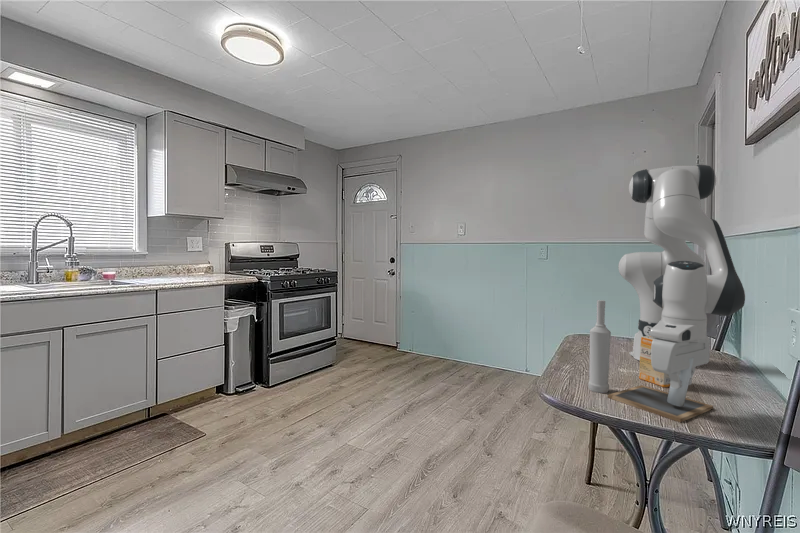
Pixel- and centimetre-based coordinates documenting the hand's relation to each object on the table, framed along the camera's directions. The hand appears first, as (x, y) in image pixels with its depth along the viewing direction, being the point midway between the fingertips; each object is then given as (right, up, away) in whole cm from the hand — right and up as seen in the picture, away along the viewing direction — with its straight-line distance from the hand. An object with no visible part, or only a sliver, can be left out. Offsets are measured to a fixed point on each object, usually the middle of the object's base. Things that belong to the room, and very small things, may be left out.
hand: (680, 386), depth 93 cm
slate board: (-2, -6, +5) cm, 8 cm away
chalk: (-1, -5, +1) cm, 5 cm away
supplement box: (+8, -6, +22) cm, 24 cm away
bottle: (-12, -6, +15) cm, 20 cm away
